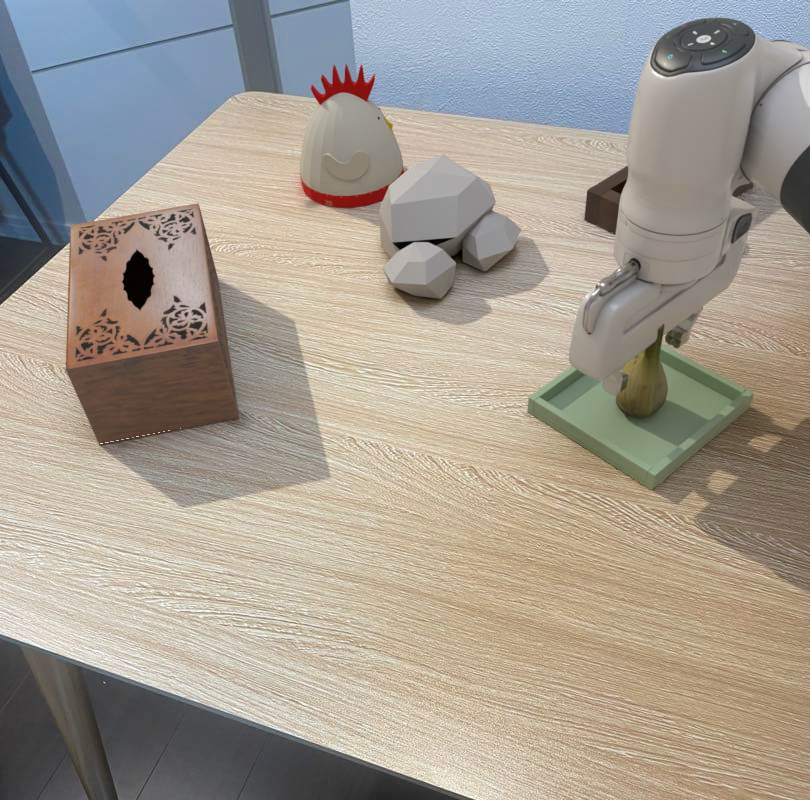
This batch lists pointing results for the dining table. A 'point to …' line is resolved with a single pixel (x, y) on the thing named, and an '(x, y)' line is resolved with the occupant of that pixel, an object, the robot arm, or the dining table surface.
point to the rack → (617, 200)
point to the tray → (643, 436)
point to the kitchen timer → (348, 146)
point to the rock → (440, 226)
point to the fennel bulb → (644, 382)
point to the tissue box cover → (147, 325)
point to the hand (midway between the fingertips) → (645, 365)
